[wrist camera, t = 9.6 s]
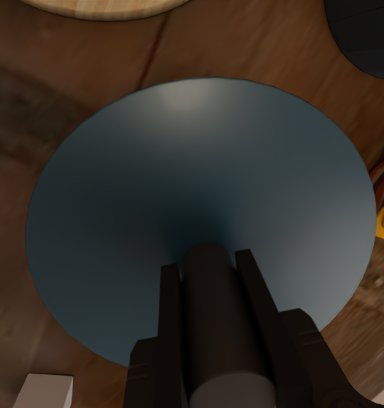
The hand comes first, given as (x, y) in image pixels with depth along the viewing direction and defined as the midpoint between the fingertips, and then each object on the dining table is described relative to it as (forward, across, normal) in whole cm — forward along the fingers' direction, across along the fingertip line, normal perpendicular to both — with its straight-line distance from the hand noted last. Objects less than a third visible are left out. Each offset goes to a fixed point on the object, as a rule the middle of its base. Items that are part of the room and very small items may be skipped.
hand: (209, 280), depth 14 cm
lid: (+2, 0, 0) cm, 2 cm away
